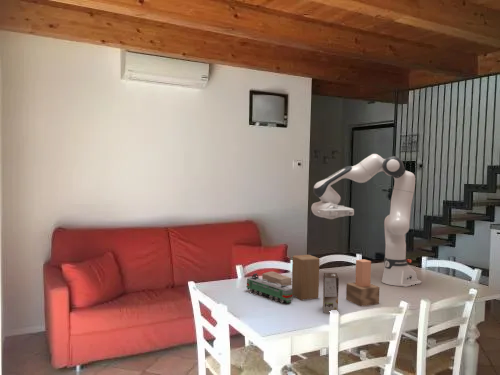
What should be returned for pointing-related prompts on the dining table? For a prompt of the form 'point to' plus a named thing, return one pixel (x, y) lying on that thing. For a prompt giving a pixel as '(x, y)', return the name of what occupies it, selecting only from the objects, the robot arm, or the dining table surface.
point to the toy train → (269, 289)
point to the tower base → (362, 294)
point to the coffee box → (330, 292)
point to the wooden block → (305, 277)
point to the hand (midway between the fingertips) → (345, 213)
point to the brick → (277, 278)
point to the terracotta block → (363, 273)
